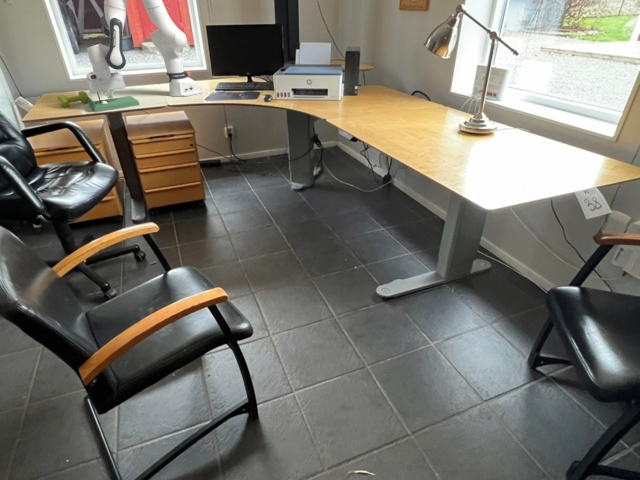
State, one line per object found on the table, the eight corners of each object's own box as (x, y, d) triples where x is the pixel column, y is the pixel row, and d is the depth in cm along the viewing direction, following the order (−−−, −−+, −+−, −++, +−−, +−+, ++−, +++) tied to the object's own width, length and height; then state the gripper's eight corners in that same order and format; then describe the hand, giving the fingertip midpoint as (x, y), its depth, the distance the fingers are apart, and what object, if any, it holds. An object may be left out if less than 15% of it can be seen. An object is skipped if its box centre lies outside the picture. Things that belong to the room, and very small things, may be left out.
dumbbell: (64, 108, 234) (60, 96, 230) (59, 106, 238) (54, 94, 234) (91, 103, 244) (87, 91, 240) (86, 101, 249) (82, 90, 245)
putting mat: (131, 99, 250) (126, 80, 243) (139, 105, 238) (134, 84, 231) (89, 106, 237) (82, 85, 231) (95, 112, 225) (88, 90, 219)
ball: (107, 106, 237) (106, 100, 236) (109, 107, 235) (108, 101, 233) (101, 106, 235) (100, 100, 233) (102, 107, 233) (101, 101, 231)
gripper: (119, 70, 234) (126, 94, 242) (83, 75, 224) (91, 99, 232) (122, 72, 230) (129, 96, 238) (85, 77, 220) (93, 101, 228)
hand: (110, 97), depth 235 cm, fingers closed
